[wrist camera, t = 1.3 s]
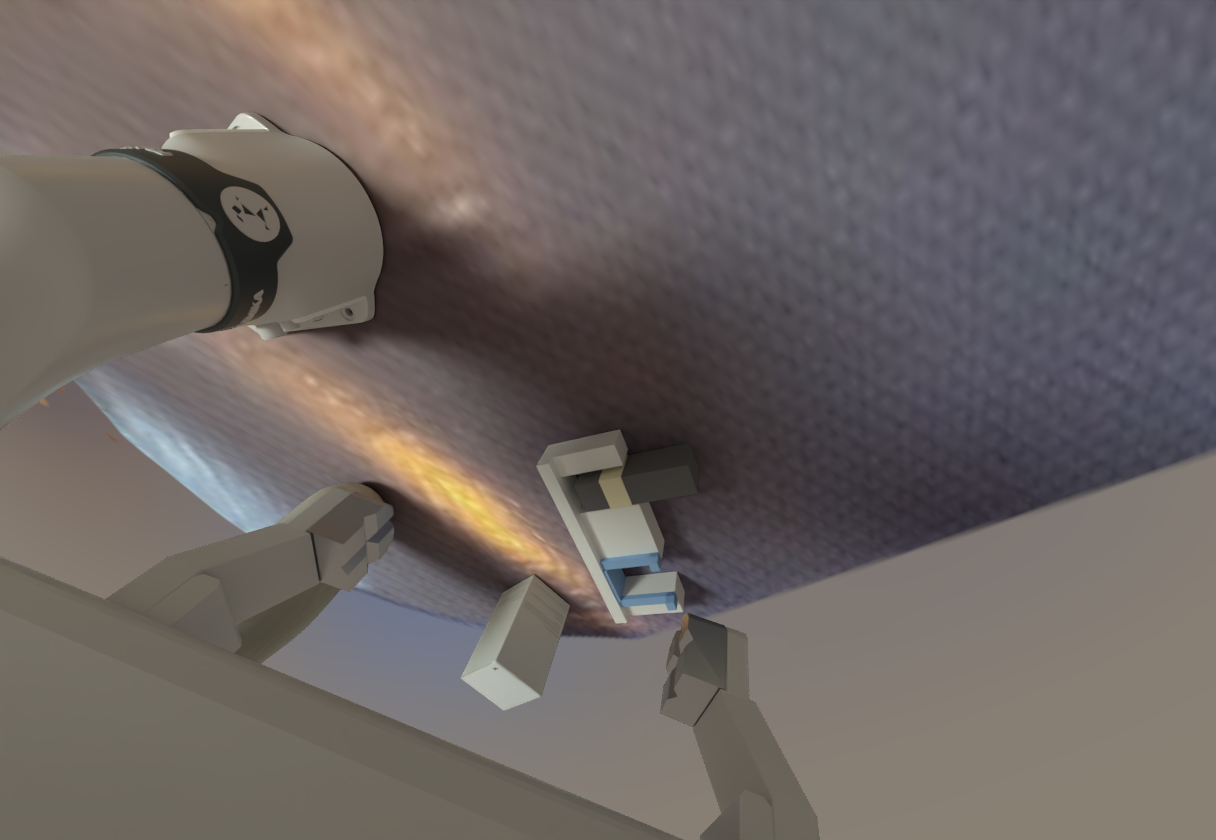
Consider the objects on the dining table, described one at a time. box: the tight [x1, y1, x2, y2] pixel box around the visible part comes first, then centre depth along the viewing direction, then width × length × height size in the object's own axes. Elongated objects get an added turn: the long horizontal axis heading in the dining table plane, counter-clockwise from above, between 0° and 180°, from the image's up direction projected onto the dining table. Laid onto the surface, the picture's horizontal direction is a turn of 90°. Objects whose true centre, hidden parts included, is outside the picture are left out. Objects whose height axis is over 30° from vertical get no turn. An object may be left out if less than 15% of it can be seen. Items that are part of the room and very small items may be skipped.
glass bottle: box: [235, 482, 383, 664], centre depth 48 cm, size 10×10×28 cm
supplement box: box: [461, 575, 570, 710], centre depth 58 cm, size 7×7×13 cm
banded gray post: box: [574, 443, 699, 512], centre depth 47 cm, size 12×4×4 cm, turn 110°
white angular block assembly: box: [536, 429, 685, 623], centre depth 51 cm, size 8×24×5 cm, turn 20°
